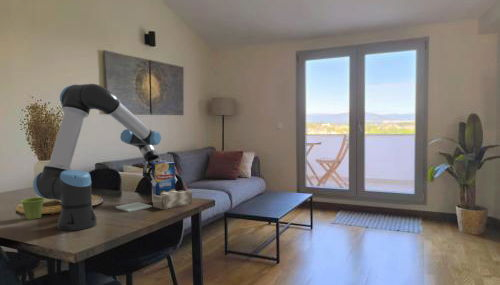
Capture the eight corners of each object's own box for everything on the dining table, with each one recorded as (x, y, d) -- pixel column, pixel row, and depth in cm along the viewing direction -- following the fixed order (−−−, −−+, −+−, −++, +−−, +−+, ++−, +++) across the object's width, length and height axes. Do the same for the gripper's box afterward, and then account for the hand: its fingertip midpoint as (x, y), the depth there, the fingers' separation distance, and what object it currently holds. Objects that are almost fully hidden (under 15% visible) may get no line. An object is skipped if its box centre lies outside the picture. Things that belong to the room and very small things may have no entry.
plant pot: (40, 220, 163) (39, 201, 163) (17, 221, 162) (17, 202, 161) (48, 215, 173) (47, 197, 172) (27, 216, 171) (26, 197, 171)
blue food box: (175, 202, 199) (174, 162, 198) (155, 204, 193) (155, 163, 192) (171, 199, 205) (170, 161, 203) (152, 202, 199) (151, 162, 198)
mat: (128, 211, 177) (128, 210, 177) (116, 207, 186) (115, 206, 186) (151, 207, 187) (151, 205, 187) (138, 203, 196) (138, 202, 196)
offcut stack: (164, 205, 186) (164, 194, 186) (159, 204, 190) (158, 193, 189) (183, 201, 195) (183, 191, 195) (177, 200, 198) (177, 190, 198)
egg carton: (163, 209, 182) (163, 195, 181) (153, 206, 188) (152, 193, 188) (191, 203, 195) (191, 190, 195) (181, 201, 201) (180, 188, 201)
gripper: (165, 157, 217) (181, 184, 208) (127, 160, 199) (142, 190, 189) (170, 148, 213) (186, 176, 204) (132, 151, 195) (148, 181, 186)
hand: (165, 183), depth 197 cm, fingers open, 13 cm apart
